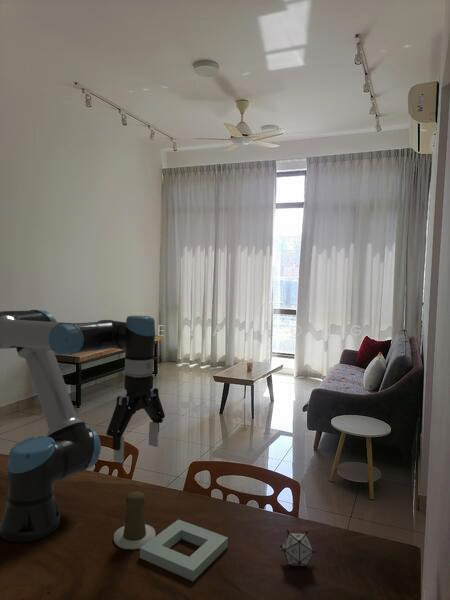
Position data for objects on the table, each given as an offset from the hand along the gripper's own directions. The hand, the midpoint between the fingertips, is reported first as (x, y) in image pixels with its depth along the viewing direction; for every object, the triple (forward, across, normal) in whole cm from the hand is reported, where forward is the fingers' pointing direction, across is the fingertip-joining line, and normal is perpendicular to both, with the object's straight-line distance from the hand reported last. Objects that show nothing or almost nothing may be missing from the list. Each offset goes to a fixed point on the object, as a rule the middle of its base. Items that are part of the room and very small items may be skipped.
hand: (136, 453), depth 117 cm
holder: (+23, +2, -15) cm, 27 cm away
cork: (+22, 0, 0) cm, 22 cm away
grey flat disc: (+23, 0, 0) cm, 23 cm away
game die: (+23, +13, -41) cm, 49 cm away
